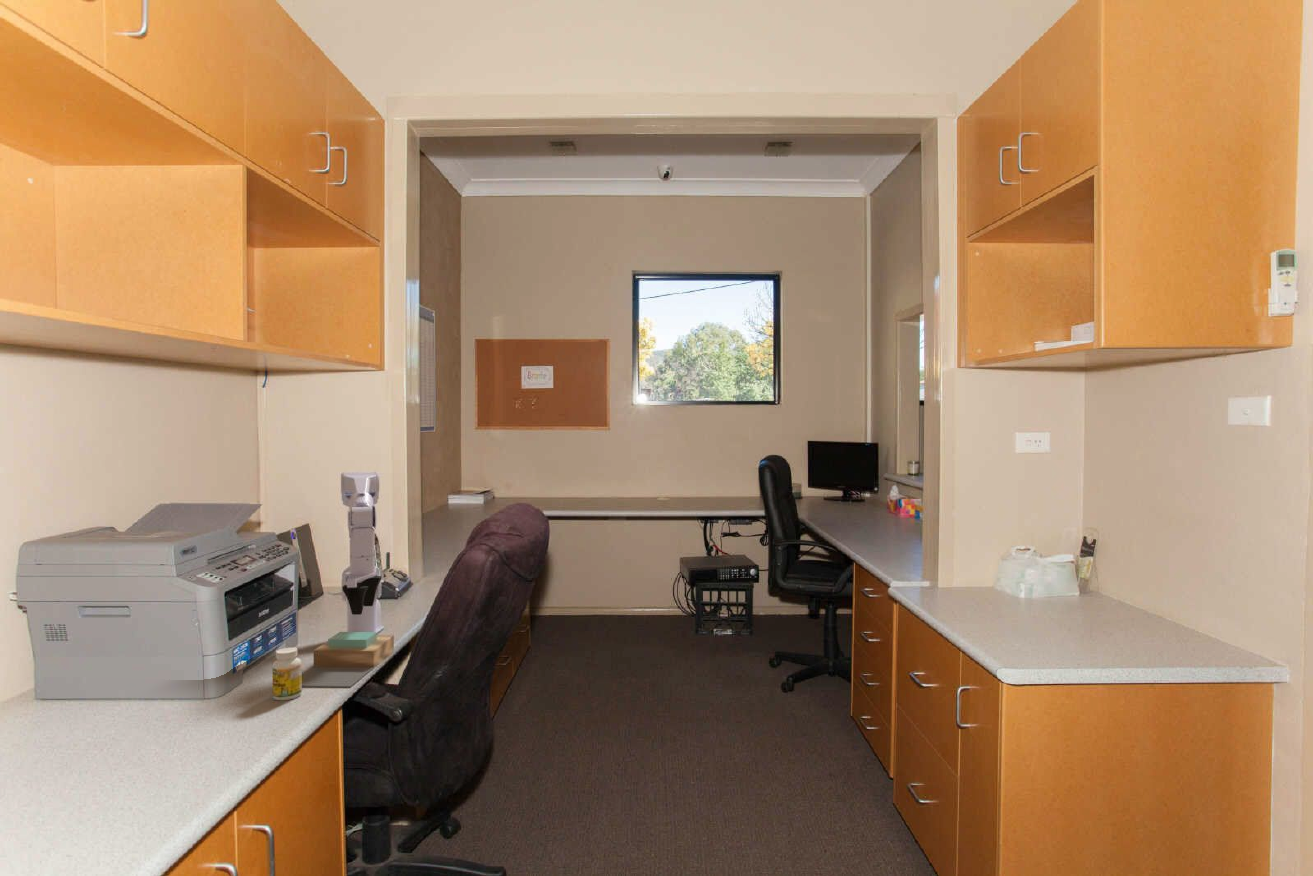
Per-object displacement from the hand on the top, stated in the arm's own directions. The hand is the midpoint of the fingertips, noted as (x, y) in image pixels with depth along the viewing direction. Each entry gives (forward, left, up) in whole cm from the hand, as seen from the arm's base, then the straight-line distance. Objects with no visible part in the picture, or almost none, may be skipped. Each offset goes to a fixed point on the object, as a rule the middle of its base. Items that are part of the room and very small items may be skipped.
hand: (362, 610), depth 179 cm
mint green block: (+7, +1, -6) cm, 9 cm away
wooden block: (+6, +1, -10) cm, 12 cm away
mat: (+18, +1, -10) cm, 21 cm away
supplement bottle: (+29, -3, -11) cm, 31 cm away
